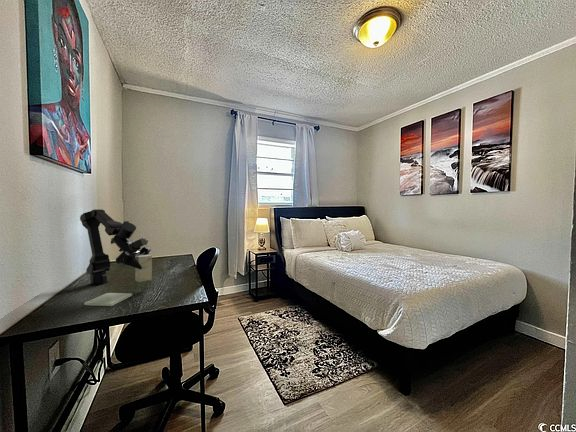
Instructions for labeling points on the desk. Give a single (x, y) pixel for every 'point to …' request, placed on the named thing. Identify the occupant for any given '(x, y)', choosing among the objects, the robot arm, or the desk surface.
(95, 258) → the robot arm
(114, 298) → the sage tile
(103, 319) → the desk surface
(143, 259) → the skincare box
